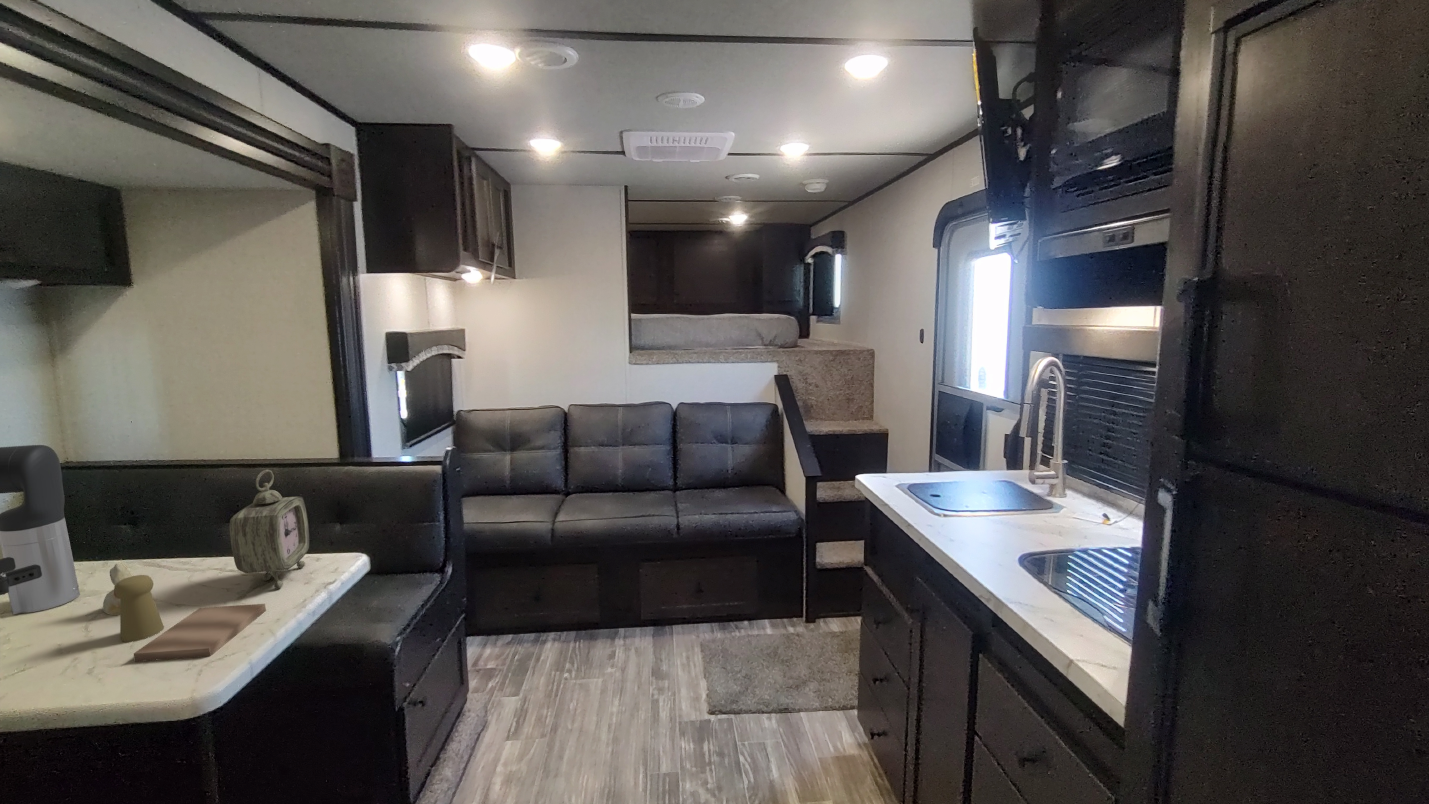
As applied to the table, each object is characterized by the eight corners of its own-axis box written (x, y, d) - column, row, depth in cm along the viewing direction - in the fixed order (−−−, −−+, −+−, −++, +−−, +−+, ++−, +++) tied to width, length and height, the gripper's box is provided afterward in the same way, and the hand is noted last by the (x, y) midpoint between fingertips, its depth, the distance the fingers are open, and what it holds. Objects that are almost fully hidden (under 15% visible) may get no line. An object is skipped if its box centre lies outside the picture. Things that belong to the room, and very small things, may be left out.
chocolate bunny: (107, 621, 119) (98, 572, 118) (102, 608, 124) (93, 562, 123) (145, 610, 123) (137, 563, 122) (139, 598, 128) (131, 553, 127)
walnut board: (210, 656, 107) (208, 648, 106) (134, 661, 105) (133, 653, 105) (266, 610, 122) (265, 603, 122) (201, 614, 121) (199, 607, 121)
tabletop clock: (284, 591, 130) (268, 478, 126) (236, 596, 129) (218, 481, 124) (313, 563, 144) (300, 461, 140) (270, 567, 143) (255, 463, 138)
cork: (114, 645, 111) (103, 588, 109) (127, 629, 116) (117, 575, 114) (158, 636, 113) (148, 580, 112) (168, 621, 119) (159, 568, 117)
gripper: (-122, 595, 82) (45, 550, 97) (-163, 579, 87) (0, 538, 102) (-109, 647, 83) (54, 594, 98) (-151, 628, 88) (9, 581, 103)
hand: (26, 566), depth 100 cm, fingers open, 8 cm apart
